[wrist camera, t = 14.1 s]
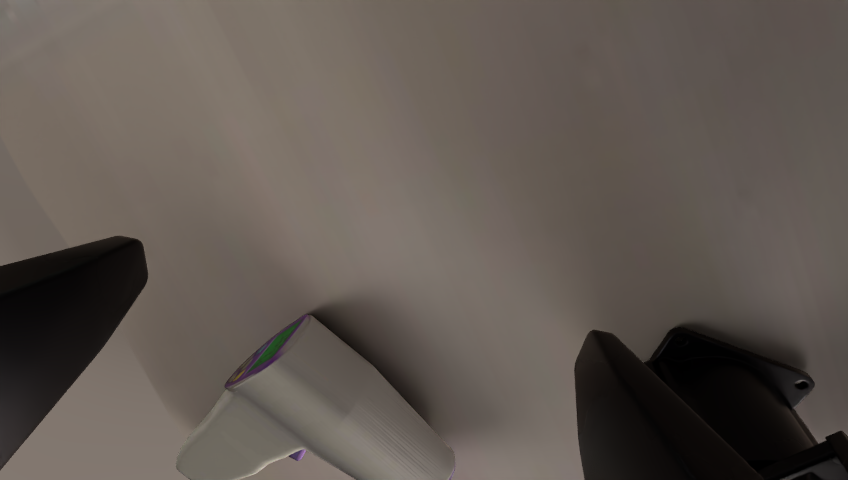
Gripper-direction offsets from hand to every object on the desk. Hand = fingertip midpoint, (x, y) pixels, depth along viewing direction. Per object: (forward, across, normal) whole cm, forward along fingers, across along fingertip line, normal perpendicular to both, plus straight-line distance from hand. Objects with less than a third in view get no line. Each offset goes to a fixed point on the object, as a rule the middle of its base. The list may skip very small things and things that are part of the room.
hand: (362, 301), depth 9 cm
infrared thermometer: (+12, +4, +20) cm, 23 cm away
